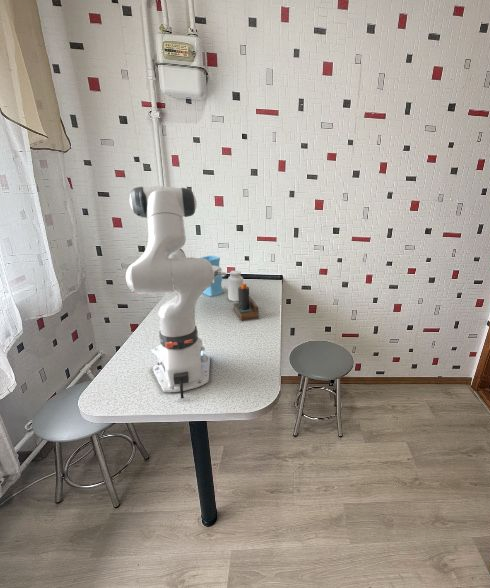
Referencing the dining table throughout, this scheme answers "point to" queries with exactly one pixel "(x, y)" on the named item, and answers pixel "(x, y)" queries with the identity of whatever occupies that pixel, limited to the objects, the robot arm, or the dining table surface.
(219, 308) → the dining table surface
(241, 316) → the brown tray
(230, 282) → the pill bottle
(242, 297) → the bottle
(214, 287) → the vase
